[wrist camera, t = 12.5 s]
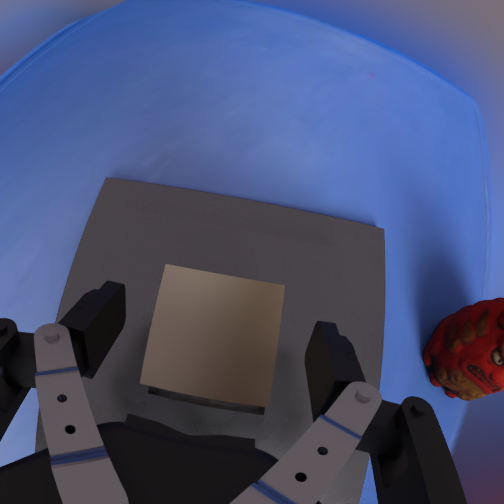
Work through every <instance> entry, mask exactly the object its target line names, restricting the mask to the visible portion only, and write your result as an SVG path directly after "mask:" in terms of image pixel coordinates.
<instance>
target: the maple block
mask: <svg viewBox="0 0 504 504" xmlns="http://www.w3.org/2000/svg"><path fill="white" fill-rule="evenodd" d="M284 290H285V285H280V284H274V283H268V282H262V281H256V280H251V279H245V278H239V277H234V276H228V275H223V274H217V273H212V272H206V271H201V270H195V269H190V268H185V267H180V266H174V265H169V264H166V265H165V269H164V273H163V277H162V281H161V285H160V289H159V293H158V297H157V301H156V306H155V310H154V315H153V319H152V324H151V328H150V333H149V338H148V342H147V347H146V352H145V357H144V362H143V368H142V373H141V379H140V384H144V385H148V386H152V387H156V388H161V389H165V390H169V391H174V392H178V393H183V394H188V395H193V396H198V397H203V398H209V399H214V400H220V401H226V402H233V403H239V404H246V405H254V406H262V407H269V401H270V394H271V387H272V380H273V374H274V367H275V359H276V352H277V345H278V337H279V330H280V322H281V314H282V306H283V298H284Z"/></svg>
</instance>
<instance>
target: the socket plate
mask: <svg viewBox="0 0 504 504" xmlns="http://www.w3.org/2000/svg"><path fill="white" fill-rule="evenodd" d="M166 264H169V265H174V266H180V267H185V268H190V269H195V270H201V271H206V272H212V273H217V274H223V275H228V276H234V277H239V278H245V279H251V280H256V281H262V282H268V283H274V284H280V285H285V290H284V298H283V306H282V314H281V322H280V330H279V337H278V345H277V352H276V359H275V367H274V374H273V380H272V387H271V394H270V401H269V407H262V406H254V405H246V404H239V403H233V402H226V401H220V400H214V399H209V398H203V397H198V396H193V395H188V394H183V393H178V392H174V391H169V390H165V389H161V388H156V387H152V386H148V385H144V384H140V379H141V373H142V368H143V362H144V357H145V352H146V347H147V342H148V338H149V333H150V328H151V324H152V319H153V315H154V310H155V306H156V301H157V297H158V293H159V289H160V285H161V281H162V277H163V273H164V269H165V265H166ZM107 280H109V281H114V282H118V283H122V284H124V285H125V288H126V320H125V325H124V327H123V329H122V331H121V333H120V334H119V336H118V338H117V339H116V341H115V342H114V344H113V346H112V347H111V349H110V351H109V352H108V354H107V356H106V357H105V359H104V361H103V362H102V364H101V366H100V367H99V369H98V371H97V372H96V374H95V376H94V378H93V379H89V378H86V377H82V378H81V380H82V383H83V387H84V390H85V393H86V396H87V399H88V403H89V406H90V409H91V412H92V415H93V417H94V420H95V423H96V425H98V424H102V423H106V422H118V421H122V422H125V420H126V417H127V415H128V414H132V415H135V416H139V417H142V418H146V419H150V420H154V421H158V422H160V423H162V424H164V425H166V426H169V427H171V428H173V429H175V430H177V431H180V432H182V433H184V434H187V435H229V436H236V437H243V438H251V439H255V448H257V449H260V450H262V451H265V452H267V453H269V454H271V455H272V456H274V457H275V458H277V459H278V460H280V459H281V458H282V457H283V456H284V455H285V454H286V453H287V452H288V451H289V449H290V448H291V447H292V446H293V445H294V444H295V443H296V442H297V441H298V440H299V439H300V438H301V437H302V436H303V434H304V433H305V432H306V431H307V430H308V429H309V428H310V427H311V425H312V424H313V417H312V410H311V403H310V396H309V390H308V383H307V376H306V370H305V363H304V359H305V352H306V349H307V346H308V343H309V340H310V338H311V335H312V332H313V329H314V326H315V324H316V322H317V321H325V322H332V323H335V324H336V326H337V329H338V331H339V334H340V335H342V336H346V337H347V339H348V340H349V341H350V342H351V343H352V344H353V347H354V350H355V352H356V353H355V354H356V355H357V358H358V361H359V363H360V366H361V369H362V372H363V374H364V377H365V380H366V383H368V384H370V385H372V386H374V387H375V388H376V389H377V390H378V391H379V387H380V377H381V367H382V354H383V339H384V318H385V240H384V229H382V228H378V227H374V226H370V225H366V224H361V223H357V222H353V221H348V220H344V219H339V218H335V217H330V216H326V215H321V214H316V213H312V212H307V211H302V210H297V209H292V208H288V207H283V206H278V205H272V204H267V203H262V202H257V201H252V200H246V199H241V198H235V197H230V196H224V195H218V194H213V193H207V192H201V191H195V190H189V189H183V188H176V187H170V186H163V185H157V184H150V183H143V182H136V181H129V180H121V179H114V178H106V179H105V182H104V184H103V186H102V188H101V191H100V193H99V195H98V198H97V200H96V202H95V205H94V207H93V210H92V212H91V214H90V217H89V219H88V222H87V225H86V227H85V230H84V232H83V235H82V238H81V241H80V243H79V246H78V249H77V252H76V255H75V258H74V261H73V263H72V267H71V270H70V273H69V276H68V279H67V282H66V286H65V289H64V292H63V296H62V299H61V303H60V307H59V310H58V314H57V318H56V322H55V324H57V323H58V322H59V321H60V320H61V319H62V318H63V317H64V316H65V315H66V313H67V312H68V311H69V310H70V309H71V308H72V307H74V305H75V304H76V302H77V301H79V299H80V298H81V297H82V296H83V295H84V294H85V293H87V292H89V291H91V290H93V289H98V290H99V288H100V287H101V286H102V285H103V284H104V283H105V282H106V281H107ZM45 448H48V445H47V441H46V437H45V432H44V428H43V423H42V418H41V412H40V407H39V414H38V423H37V433H36V446H35V453H36V452H38V451H41V450H43V449H45ZM369 455H370V453H367V452H363V451H359V450H354V451H353V453H352V454H351V456H350V457H349V459H348V460H347V462H346V463H345V465H344V466H343V468H342V469H341V470H340V472H339V473H338V475H337V476H336V477H335V479H334V480H333V482H332V483H331V484H330V486H329V487H328V488H327V490H326V491H325V492H324V494H323V495H322V496H321V498H320V499H319V501H320V502H321V503H322V504H359V501H360V497H361V493H362V489H363V484H364V480H365V475H366V470H367V465H368V460H369Z"/></svg>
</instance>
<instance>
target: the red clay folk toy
mask: <svg viewBox="0 0 504 504" xmlns="http://www.w3.org/2000/svg"><path fill="white" fill-rule="evenodd" d="M423 360H424V363H425V365H426V366H427V368H428V371H429V379H430V382H431V384H433V385H434V386H436V387H439V386H442V387H443V388H444V390H445V394H446V395H447V396H449V397H451V398H455V397H459V398H460V399H462V400H466V401H470V400H473V399H477V398H481V397H483V396H485V395H487V394H490V393H496V392H500V391H502V390H504V298H496V299H493V300H483V301H479V302H477V303H475V304H473V305H469V306H465V307H463V308H462V309H460V310H459V311H457V312H456V313H453V314H451V315H449V316H448V317H446V318H445V319H443V320H442V321H441V322H440V323H439V324H438V326H437V327H436V329H435V330H434V332H433V334H432V336H431V339H430V340H429V342H428V343H427V345H426V347H425V349H424V356H423Z"/></svg>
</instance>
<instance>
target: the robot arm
mask: <svg viewBox="0 0 504 504" xmlns="http://www.w3.org/2000/svg"><path fill="white" fill-rule="evenodd" d="M125 320H126V288H125V285H124V284H122V283H118V282H114V281H109V280H107V281H106V282H105V283H104V284H103V285H102V286H101V287H100V288H99V290H98V289H93V290H91V291H89V292H87V293H85V294H84V295H83V296H82V297H81V298H80V299H79V301H77V302H76V304H75V305H74V307H72V308H71V309H70V310H69V311H68V312H67V313H66V315H65V316H64V317H63V318H62V319H61V320H60V321H59V322H58V323H57V324H55V323H52V324H46V325H43V326H41V327H39V328H38V329H37V330H36V332H35V333H26V332H18V329H17V326H16V323H15V322H14V321H13V320H11V319H7V318H0V441H1V439H2V437H3V435H4V434H5V432H6V430H7V428H8V426H9V425H10V423H11V421H12V419H13V417H14V416H15V414H16V412H17V410H18V409H19V407H20V405H21V404H22V402H23V400H24V399H25V397H26V395H27V394H28V392H29V390H30V389H31V387H32V388H37V395H38V401H39V407H40V412H41V418H42V423H43V428H44V432H45V437H46V441H47V445H48V448H45V449H43V450H41V451H38V452H36V453H34V454H31V455H29V456H27V457H24V458H22V459H20V460H17V461H15V462H12V463H10V464H7V465H5V466H2V467H0V504H322V503H321V502H320V501H319V499H320V498H321V496H322V495H323V494H324V492H325V491H326V490H327V488H328V487H329V486H330V484H331V483H332V482H333V480H334V479H335V477H336V476H337V475H338V473H339V472H340V470H341V469H342V468H343V466H344V465H345V463H346V462H347V460H348V459H349V457H350V456H351V454H352V453H353V451H354V450H359V451H363V452H367V453H370V457H371V463H372V469H373V474H374V480H375V486H376V492H377V499H378V504H467V502H466V498H465V495H464V492H463V489H462V486H461V483H460V480H459V477H458V474H457V471H456V468H455V465H454V462H453V459H452V456H451V454H450V451H449V448H448V446H447V443H446V440H445V438H444V435H443V433H442V430H441V428H440V425H439V423H438V420H437V418H436V415H435V413H434V410H433V408H432V407H431V405H430V404H429V403H428V402H427V401H425V400H424V399H422V398H419V397H414V396H412V397H408V398H406V399H404V401H403V402H402V404H401V405H399V404H396V403H392V402H388V401H385V400H382V397H381V394H380V392H379V391H378V390H377V389H376V388H375V387H374V386H372V385H370V384H368V383H366V380H365V377H364V374H363V372H362V369H361V366H360V363H359V361H358V358H357V355H356V354H355V353H356V352H355V350H354V347H353V344H352V343H351V342H350V341H349V340H348V339H347V337H346V336H342V335H340V334H339V331H338V329H337V326H336V324H335V323H332V322H325V321H317V322H316V324H315V326H314V329H313V332H312V335H311V338H310V340H309V343H308V346H307V349H306V352H305V359H304V363H305V370H306V376H307V383H308V390H309V396H310V403H311V410H312V417H313V424H312V425H311V427H310V428H309V429H308V430H307V431H306V432H305V433H304V434H303V436H302V437H301V438H300V439H299V440H298V441H297V442H296V443H295V444H294V445H293V446H292V447H291V448H290V449H289V451H288V452H287V453H286V454H285V455H284V456H283V457H282V458H281V459H280V460H278V459H277V458H275V457H274V456H272V455H271V454H269V453H267V452H265V451H262V450H260V449H257V448H255V439H251V438H243V437H236V436H229V435H187V434H184V433H182V432H180V431H177V430H175V429H173V428H171V427H169V426H166V425H164V424H162V423H160V422H158V421H154V420H150V419H146V418H142V417H139V416H135V415H132V414H128V415H127V417H126V420H125V422H122V421H118V422H106V423H102V424H98V425H96V423H95V420H94V417H93V415H92V412H91V409H90V406H89V403H88V399H87V396H86V393H85V390H84V387H83V383H82V380H81V378H82V377H86V378H89V379H93V378H94V376H95V374H96V372H97V371H98V369H99V367H100V366H101V364H102V362H103V361H104V359H105V357H106V356H107V354H108V352H109V351H110V349H111V347H112V346H113V344H114V342H115V341H116V339H117V338H118V336H119V334H120V333H121V331H122V329H123V327H124V325H125Z"/></svg>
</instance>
